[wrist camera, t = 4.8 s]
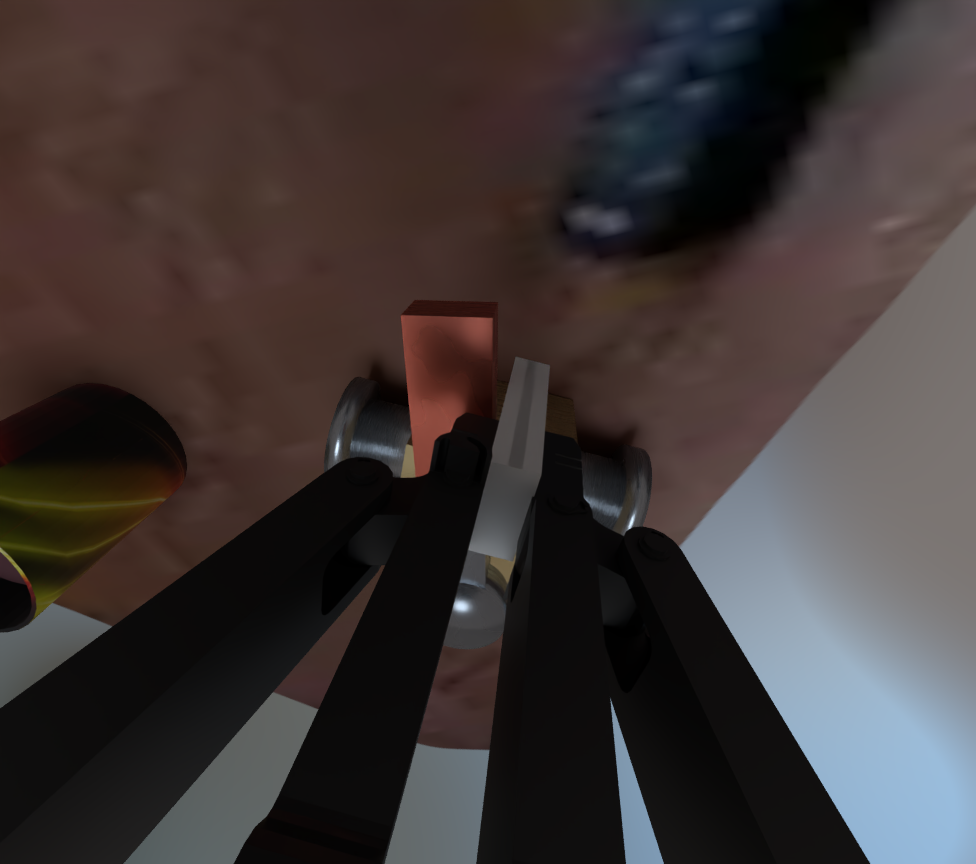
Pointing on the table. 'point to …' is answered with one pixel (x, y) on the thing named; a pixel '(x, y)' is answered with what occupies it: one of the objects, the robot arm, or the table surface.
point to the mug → (76, 489)
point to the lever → (433, 410)
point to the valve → (387, 427)
